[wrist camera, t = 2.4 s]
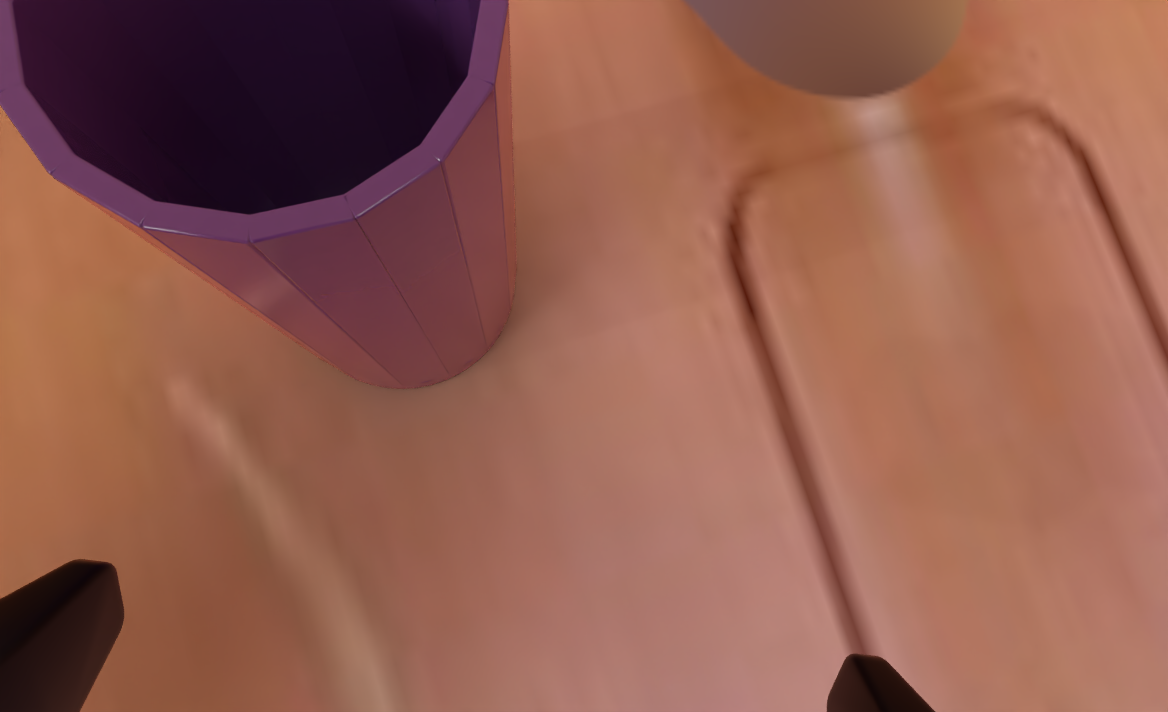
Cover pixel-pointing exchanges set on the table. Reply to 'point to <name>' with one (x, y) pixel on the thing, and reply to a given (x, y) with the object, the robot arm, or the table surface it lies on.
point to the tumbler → (294, 158)
